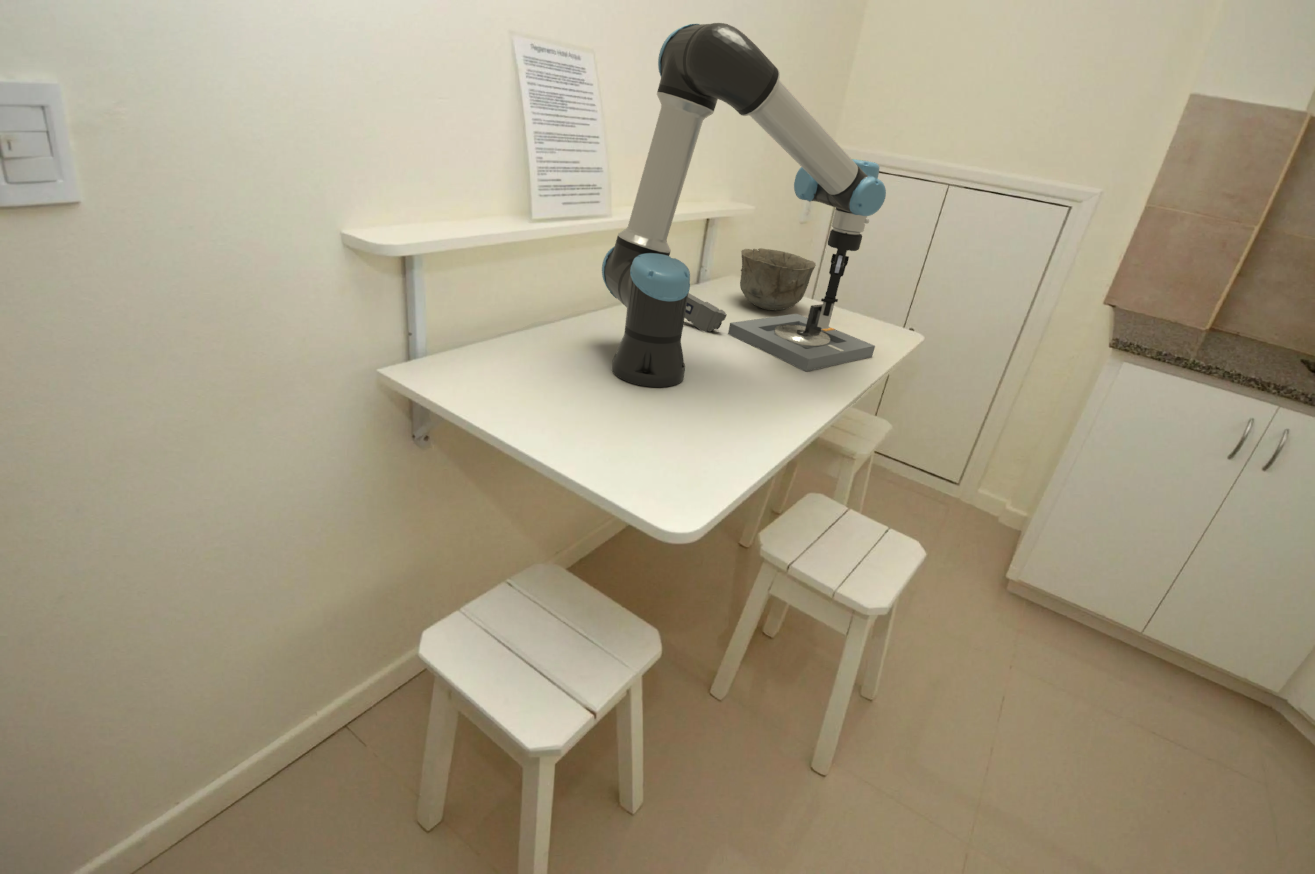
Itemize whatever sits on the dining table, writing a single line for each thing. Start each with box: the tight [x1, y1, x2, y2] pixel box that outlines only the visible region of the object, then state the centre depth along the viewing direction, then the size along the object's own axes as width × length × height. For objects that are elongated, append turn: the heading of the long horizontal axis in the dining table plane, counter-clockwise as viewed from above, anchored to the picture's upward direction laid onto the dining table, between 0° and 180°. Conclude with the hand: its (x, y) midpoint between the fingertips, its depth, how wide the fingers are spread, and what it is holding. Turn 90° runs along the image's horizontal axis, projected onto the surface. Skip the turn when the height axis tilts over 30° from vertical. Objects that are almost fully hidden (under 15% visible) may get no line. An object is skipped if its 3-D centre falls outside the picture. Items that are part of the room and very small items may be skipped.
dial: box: [774, 303, 830, 349], centre depth 164 cm, size 14×14×8 cm
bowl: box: [739, 247, 817, 311], centre depth 191 cm, size 22×22×15 cm
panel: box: [727, 313, 876, 372], centre depth 166 cm, size 26×26×3 cm
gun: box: [684, 293, 727, 333], centre depth 171 cm, size 3×25×15 cm, turn 61°
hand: (822, 327), depth 165 cm, fingers closed
